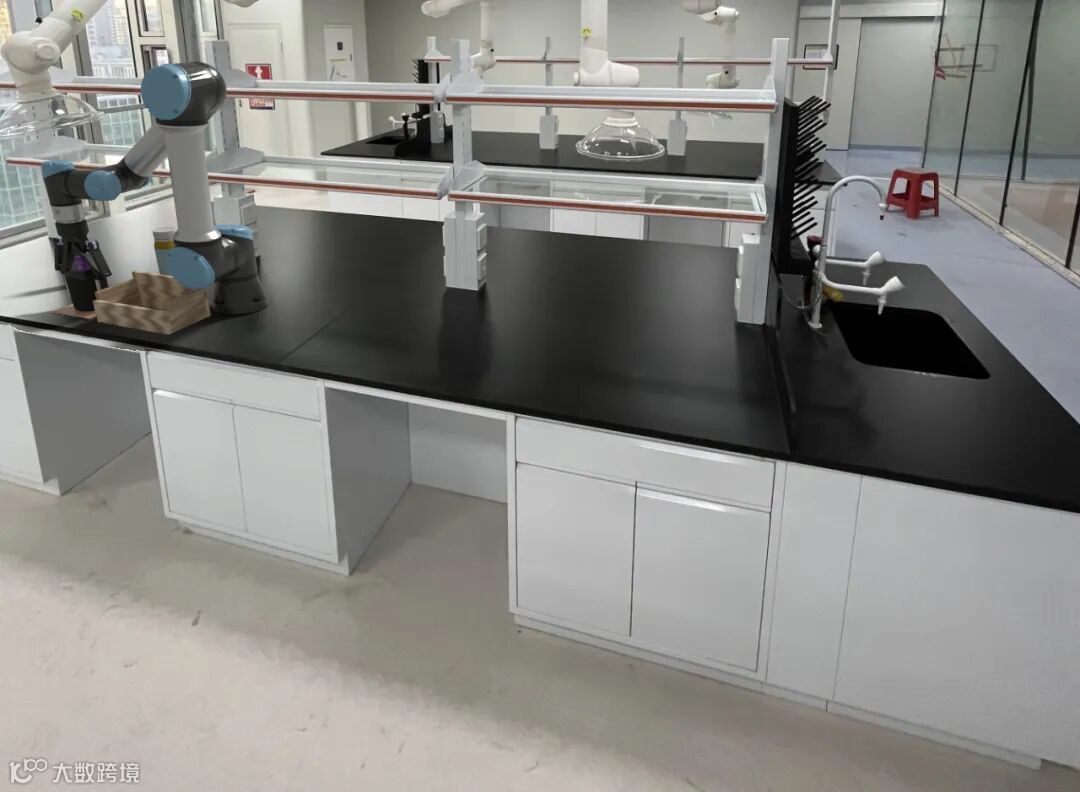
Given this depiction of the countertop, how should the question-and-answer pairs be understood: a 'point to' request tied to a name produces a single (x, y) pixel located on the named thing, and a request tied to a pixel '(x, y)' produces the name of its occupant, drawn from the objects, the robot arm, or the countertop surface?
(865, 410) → the countertop surface
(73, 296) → the pen holder
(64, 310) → the terracotta tile
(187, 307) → the open wooden box
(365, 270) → the countertop surface
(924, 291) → the countertop surface
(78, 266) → the container
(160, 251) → the bottle
